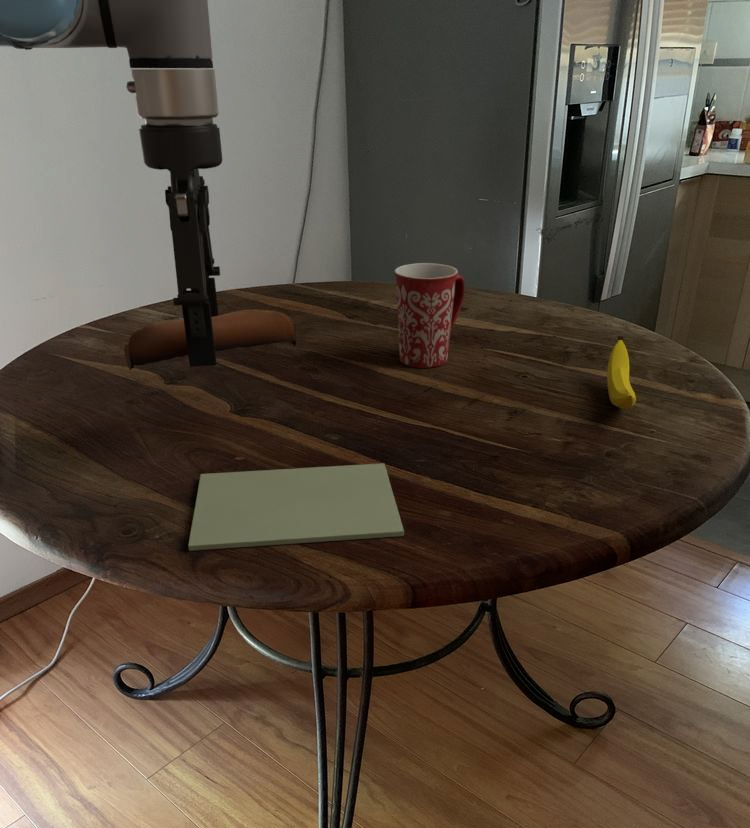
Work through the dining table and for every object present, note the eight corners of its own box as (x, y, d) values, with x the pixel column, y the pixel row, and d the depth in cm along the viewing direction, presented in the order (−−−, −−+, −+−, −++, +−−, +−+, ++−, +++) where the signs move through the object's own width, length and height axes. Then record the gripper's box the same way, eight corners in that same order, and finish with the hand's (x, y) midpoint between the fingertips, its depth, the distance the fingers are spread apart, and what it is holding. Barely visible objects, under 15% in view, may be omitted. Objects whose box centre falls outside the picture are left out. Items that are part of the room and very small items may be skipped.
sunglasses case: (274, 325, 88) (279, 282, 82) (292, 369, 85) (299, 328, 79) (119, 346, 82) (113, 302, 76) (133, 395, 79) (128, 352, 73)
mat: (188, 551, 67) (187, 545, 67) (201, 478, 79) (200, 473, 79) (404, 536, 69) (404, 530, 69) (384, 467, 81) (384, 463, 81)
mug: (423, 375, 106) (426, 280, 99) (381, 359, 112) (381, 269, 105) (481, 355, 113) (487, 266, 107) (439, 342, 119) (442, 256, 112)
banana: (611, 433, 89) (620, 383, 86) (602, 377, 105) (609, 334, 102) (636, 435, 89) (645, 385, 85) (623, 379, 105) (631, 335, 101)
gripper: (152, 116, 79) (180, 321, 90) (119, 130, 60) (160, 387, 71) (223, 115, 80) (242, 319, 91) (212, 129, 61) (238, 383, 72)
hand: (206, 349), depth 81 cm, fingers closed on sunglasses case, 9 cm apart
